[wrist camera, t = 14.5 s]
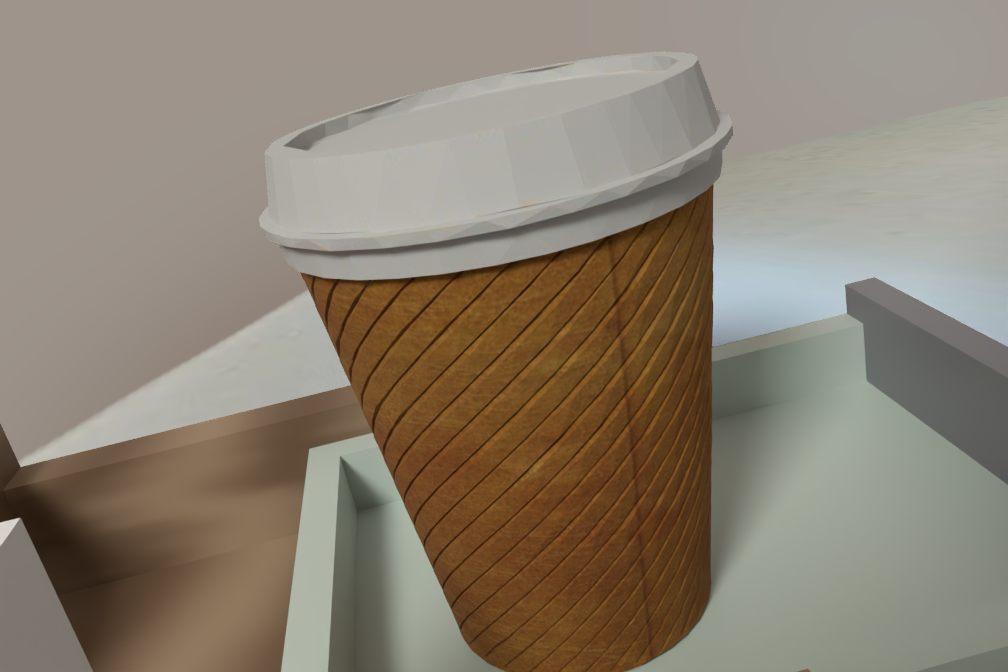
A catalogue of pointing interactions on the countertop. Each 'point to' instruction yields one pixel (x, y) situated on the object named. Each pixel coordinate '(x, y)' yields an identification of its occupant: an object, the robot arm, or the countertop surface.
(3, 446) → the dock
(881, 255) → the countertop surface
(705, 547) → the disposable coffee cup
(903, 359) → the tray
